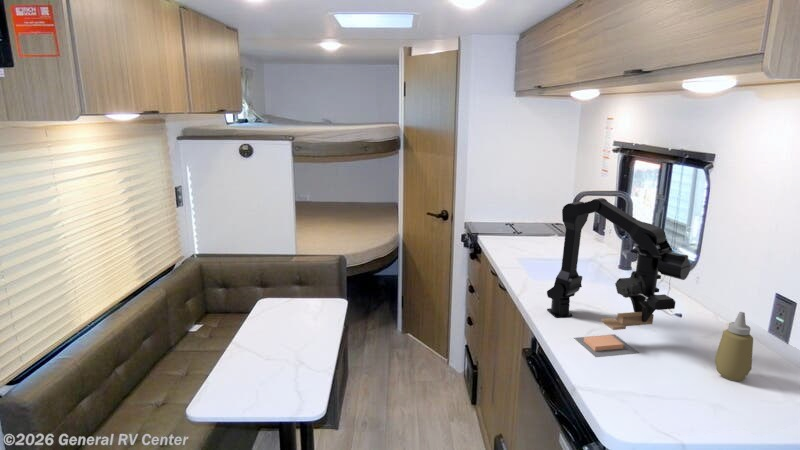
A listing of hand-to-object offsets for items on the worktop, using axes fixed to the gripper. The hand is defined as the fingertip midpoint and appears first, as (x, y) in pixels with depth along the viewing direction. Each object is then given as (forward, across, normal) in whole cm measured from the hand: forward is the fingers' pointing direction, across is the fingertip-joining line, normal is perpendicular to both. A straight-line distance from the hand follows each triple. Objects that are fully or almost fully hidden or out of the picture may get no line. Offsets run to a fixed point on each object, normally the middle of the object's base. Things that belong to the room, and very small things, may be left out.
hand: (640, 319), depth 140 cm
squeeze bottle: (+8, +20, +13) cm, 25 cm away
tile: (+6, 0, -7) cm, 10 cm away
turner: (+1, 0, -4) cm, 4 cm away
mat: (+8, 0, -11) cm, 13 cm away
